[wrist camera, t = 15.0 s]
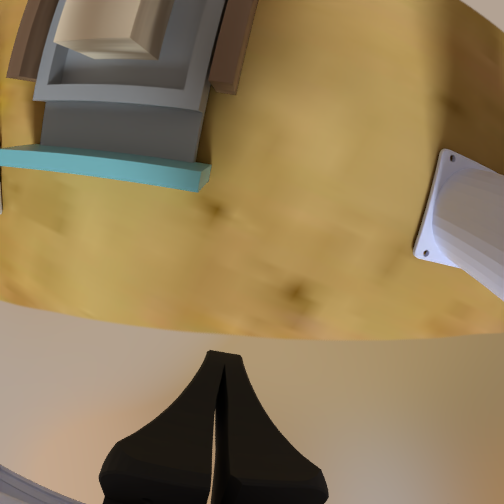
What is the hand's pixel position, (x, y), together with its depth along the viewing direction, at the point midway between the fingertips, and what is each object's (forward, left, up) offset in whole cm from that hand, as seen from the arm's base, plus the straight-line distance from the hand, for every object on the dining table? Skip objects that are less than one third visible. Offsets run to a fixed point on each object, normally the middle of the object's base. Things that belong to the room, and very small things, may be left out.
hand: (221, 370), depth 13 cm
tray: (+9, -14, -9) cm, 19 cm away
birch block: (+9, -15, -8) cm, 20 cm away
